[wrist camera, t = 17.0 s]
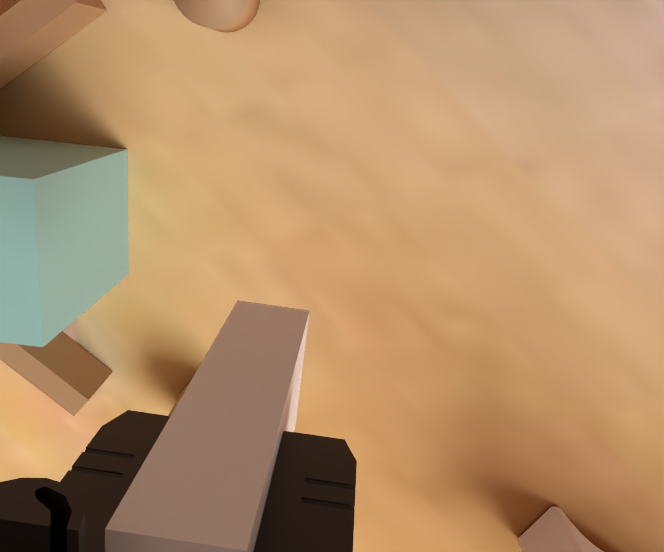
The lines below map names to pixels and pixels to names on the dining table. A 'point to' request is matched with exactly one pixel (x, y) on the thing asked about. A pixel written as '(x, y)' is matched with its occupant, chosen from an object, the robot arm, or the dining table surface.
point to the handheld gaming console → (555, 535)
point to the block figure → (5, 65)
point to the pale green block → (58, 233)
